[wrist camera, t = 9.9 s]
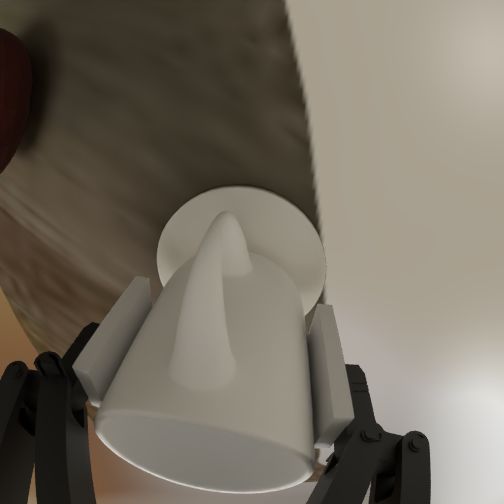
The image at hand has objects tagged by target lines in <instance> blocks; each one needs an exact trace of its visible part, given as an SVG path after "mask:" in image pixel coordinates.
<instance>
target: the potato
mask: <svg viewBox="0 0 504 504" xmlns="http://www.w3.org/2000/svg"><path fill="white" fill-rule="evenodd" d="M32 86H33V76H32V66H31V61H30V58H29V55H28V52H27V50H26V48H25V47H24V45H23V44H22V42H21V41H20V40H19V39H18V37H17V36H15V35H13V34H12V33H10V32H8V31H7V30H5V29H2V28H0V174H1V173H2V172H3V170H4V169H5V168H6V166H7V165H8V164H9V162H10V161H11V159H12V157H13V156H14V154H15V152H16V149H17V147H18V144H19V142H20V140H21V137H22V135H23V132H24V130H25V126H26V122H27V119H28V115H29V112H30V100H31V93H32Z"/></svg>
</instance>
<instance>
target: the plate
mask: <svg viewBox="0 0 504 504" xmlns="http://www.w3.org/2000/svg"><path fill="white" fill-rule="evenodd" d="M223 211H228V212H231V213H232V214H233V215H234V216H235V217H236V218H237V220H238V221H239V223H240V226H241V228H242V230H243V233H244V237H245V240H246V244H247V249H248V252H251V253H255V254H257V255H260V256H262V257H264V258H266V259H268V260H270V261H272V262H274V263H275V264H276V265H278V266H279V267H280V268H282V269H283V270H284V271H285V272H286V273H287V274H288V276H289V277H290V278H291V279H292V281H293V282H294V284H295V286H296V287H297V289H298V292H299V294H300V297H301V300H302V305H303V310H304V316H305V315H306V314H307V313H308V312H309V311H310V310H311V309H312V308H313V306H314V305H315V304H316V302H317V300H318V298H319V297H320V295H321V292H322V289H323V287H324V282H325V278H326V258H325V253H324V249H323V245H322V242H321V240H320V237H319V235H318V233H317V230H316V229H315V227H314V226H313V224H312V222H311V221H310V220H309V218H308V217H307V216H306V215H305V214H304V212H302V211H301V210H300V209H299V208H298V207H297V206H296V205H295V204H293V203H292V202H290V201H289V200H287V199H286V198H284V197H282V196H280V195H278V194H276V193H274V192H271V191H268V190H265V189H263V188H258V187H253V186H244V185H232V186H223V187H218V188H213V189H211V190H208V191H205V192H203V193H201V194H199V195H197V196H195V197H193V198H192V199H190V200H189V201H188V202H186V203H185V204H184V205H183V206H182V207H181V208H180V209H179V210H178V211H177V212H176V213H175V214H174V215H173V216H172V217H171V219H170V220H169V221H168V223H167V224H166V226H165V228H164V230H163V232H162V234H161V237H160V240H159V244H158V249H157V267H158V273H159V276H160V280H161V283H162V285H163V287H165V285H166V284H167V282H168V281H169V279H170V278H171V276H172V275H173V274H174V272H175V271H176V270H177V269H178V268H179V267H180V266H181V265H182V264H184V263H185V262H186V261H188V260H189V259H191V258H192V257H194V256H196V254H197V252H198V249H199V247H200V244H201V242H202V240H203V238H204V236H205V234H206V232H207V230H208V228H209V226H210V225H211V223H212V222H213V220H214V219H215V217H216V216H217V215H218V214H219V213H221V212H223Z"/></svg>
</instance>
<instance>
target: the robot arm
mask: <svg viewBox="0 0 504 504" xmlns="http://www.w3.org/2000/svg"><path fill="white" fill-rule="evenodd" d="M151 309H152V302H151V292H150V281H149V278H146V277H141V276H136V277H135V278H134V279H133V281H132V282H131V283H130V285H129V286H128V287H127V289H126V290H125V291H124V293H123V294H122V295H121V297H120V298H119V299H118V301H117V302H116V303H115V305H114V306H113V307H112V309H111V310H110V312H109V313H108V314H107V316H106V317H105V319H104V320H103V321H102V323H101V324H97V323H94V322H92V323H90V324H89V325H87V326H86V327H84V328H83V330H82V331H81V332H80V334H79V336H78V337H77V338H76V339H75V341H74V343H73V344H72V345H71V346H70V348H69V349H68V351H67V352H66V354H65V355H64V356H63V358H62V359H61V358H60V356H59V355H58V354H56V353H55V352H50V351H48V352H44V353H42V354H40V355H39V356H38V357H37V358H36V359H35V361H34V365H35V367H36V369H37V370H38V371H36V370H29V369H28V367H27V366H26V364H25V363H24V362H22V361H15V362H12V363H10V364H9V365H8V366H7V368H6V369H5V371H4V374H3V375H2V377H1V380H0V504H27V502H28V495H29V489H30V483H31V478H32V473H33V468H34V463H35V484H36V497H37V504H96V499H95V493H94V487H93V481H92V472H91V464H90V454H89V441H88V422H87V407H86V405H85V403H86V401H87V399H88V398H89V400H90V402H91V404H92V405H94V406H96V407H100V405H101V403H102V401H103V399H104V397H105V395H106V393H107V391H108V389H109V387H110V385H111V383H112V381H113V379H114V377H115V375H116V373H117V371H118V369H119V367H120V366H121V364H122V362H123V360H124V358H125V356H126V354H127V352H128V350H129V349H130V347H131V345H132V343H133V341H134V339H135V338H136V336H137V334H138V332H139V330H140V329H141V327H142V325H143V323H144V321H145V320H146V318H147V316H148V314H149V313H150V311H151ZM307 346H308V357H309V369H310V382H311V395H312V410H313V427H314V448H330V446H331V445H332V444H333V443H334V452H333V453H332V454H331V455H330V456H329V457H328V459H327V460H326V462H328V463H327V465H326V467H325V469H324V471H323V473H322V475H321V477H320V479H319V481H318V483H317V485H316V486H315V489H314V490H313V492H312V494H311V496H310V497H309V499H308V501H307V503H306V504H362V502H363V500H364V497H365V495H366V492H367V490H368V487H369V485H370V482H371V488H370V496H369V504H430V495H431V494H430V493H431V490H430V489H431V478H430V477H431V474H430V449H429V442H428V439H427V437H426V436H425V435H424V434H422V433H421V432H418V431H410V432H409V433H407V434H406V435H405V436H401V435H396V434H391V433H388V432H385V431H384V430H383V428H382V427H381V426H380V425H379V424H377V423H376V421H375V417H374V412H373V408H372V403H371V398H370V394H369V392H368V391H369V390H368V385H367V381H366V377H365V373H364V372H363V371H362V369H361V368H360V366H359V365H349V364H345V363H344V357H343V353H342V348H341V343H340V338H339V334H338V329H337V325H336V321H335V316H334V312H333V308H332V305H326V304H317V307H316V311H315V314H314V317H313V320H312V323H311V326H310V329H309V332H308V335H307Z"/></svg>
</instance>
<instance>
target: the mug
mask: <svg viewBox="0 0 504 504" xmlns="http://www.w3.org/2000/svg"><path fill="white" fill-rule="evenodd" d="M94 429H95V432H96V434H97V435H98V437H99V438H100V439H101V441H103V443H104V444H105V445H106V446H107V447H108V448H110V449H111V450H112V451H113V452H114V453H116V454H117V455H118V456H120V457H121V458H123V459H124V460H126V461H127V462H129V463H131V464H132V465H134V466H136V467H138V468H140V469H142V470H144V471H146V472H148V473H150V474H152V475H155V476H157V477H160V478H162V479H165V480H168V481H171V482H174V483H178V484H181V485H184V486H188V487H193V488H197V489H202V490H208V491H215V492H225V493H262V492H271V491H277V490H282V489H286V488H289V487H292V486H295V485H297V484H300V483H302V482H304V481H305V480H307V479H308V478H309V477H310V476H311V475H312V474H313V472H314V469H315V448H314V427H313V410H312V395H311V382H310V369H309V357H308V346H307V336H306V326H305V316H304V310H303V305H302V300H301V297H300V294H299V292H298V289H297V287H296V286H295V284H294V282H293V281H292V279H291V278H290V277H289V276H288V274H287V273H286V272H285V271H284V270H283V269H282V268H280V267H279V266H278V265H276V264H275V263H274V262H272V261H270V260H268V259H266V258H264V257H262V256H260V255H257V254H255V253H251V252H248V249H247V244H246V240H245V237H244V233H243V230H242V228H241V226H240V223H239V221H238V220H237V218H236V217H235V216H234V215H233V214H232V213H231V212H228V211H223V212H221V213H219V214H218V215H217V216H216V217H215V219H214V220H213V222H212V223H211V225H210V226H209V228H208V230H207V232H206V234H205V236H204V238H203V240H202V242H201V244H200V247H199V249H198V252H197V254H196V256H194V257H192V258H191V259H189V260H188V261H186V262H185V263H184V264H182V265H181V266H180V267H179V268H178V269H177V270H176V271H175V272H174V274H173V275H172V276H171V278H170V279H169V281H168V282H167V284H166V285H165V287H164V289H163V290H162V292H161V294H160V295H159V297H158V299H157V300H156V302H155V304H154V306H153V307H152V309H151V311H150V313H149V314H148V316H147V318H146V320H145V321H144V323H143V325H142V327H141V329H140V330H139V332H138V334H137V336H136V338H135V339H134V341H133V343H132V345H131V347H130V349H129V350H128V352H127V354H126V356H125V358H124V360H123V362H122V364H121V366H120V367H119V369H118V371H117V373H116V375H115V377H114V379H113V381H112V383H111V385H110V387H109V389H108V391H107V393H106V395H105V397H104V399H103V401H102V403H101V405H100V407H99V409H98V411H97V413H96V415H95V418H94Z"/></svg>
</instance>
